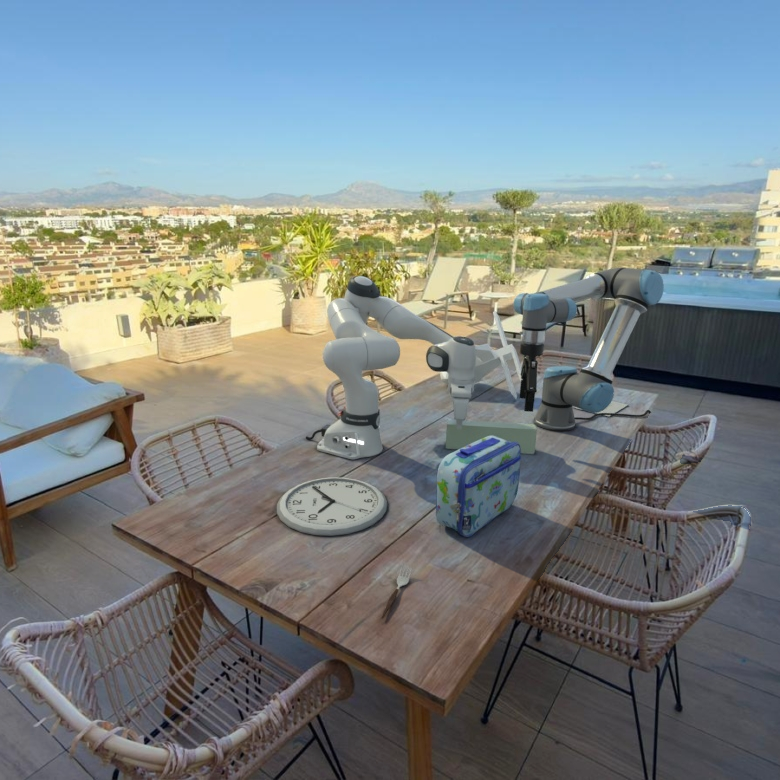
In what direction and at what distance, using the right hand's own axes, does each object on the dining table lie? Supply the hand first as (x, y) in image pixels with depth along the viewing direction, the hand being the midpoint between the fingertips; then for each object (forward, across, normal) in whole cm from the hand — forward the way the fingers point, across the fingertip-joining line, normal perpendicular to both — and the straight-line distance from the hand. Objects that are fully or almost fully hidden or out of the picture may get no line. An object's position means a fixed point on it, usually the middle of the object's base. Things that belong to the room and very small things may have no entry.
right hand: (525, 404), depth 175 cm
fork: (+17, +80, -35) cm, 89 cm away
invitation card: (+17, -53, +40) cm, 69 cm away
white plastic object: (+17, -65, -12) cm, 68 cm away
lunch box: (+17, +47, -17) cm, 53 cm away
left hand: (+8, 0, -22) cm, 23 cm away
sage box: (+17, 0, -11) cm, 20 cm away
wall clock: (+17, +46, -56) cm, 74 cm away
